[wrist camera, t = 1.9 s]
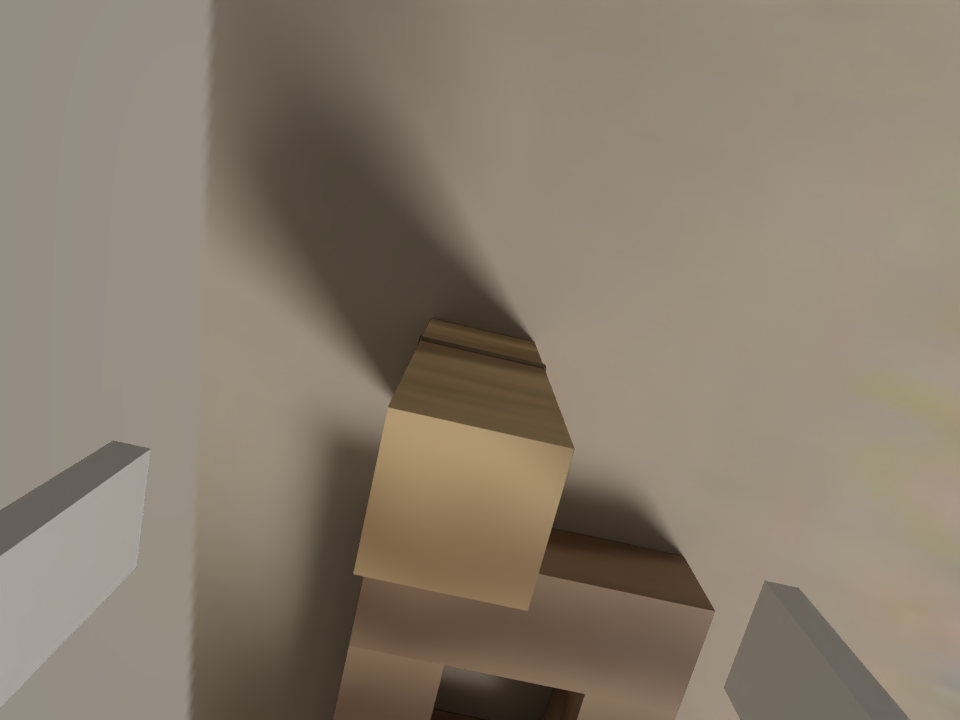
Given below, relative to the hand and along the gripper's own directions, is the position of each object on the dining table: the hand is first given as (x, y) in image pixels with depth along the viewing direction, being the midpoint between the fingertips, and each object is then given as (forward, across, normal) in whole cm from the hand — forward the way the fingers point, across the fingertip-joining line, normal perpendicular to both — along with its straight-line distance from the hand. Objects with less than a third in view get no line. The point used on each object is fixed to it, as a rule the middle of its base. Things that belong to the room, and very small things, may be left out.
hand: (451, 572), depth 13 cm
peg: (+14, 0, 0) cm, 14 cm away
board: (+14, +5, -14) cm, 20 cm away
